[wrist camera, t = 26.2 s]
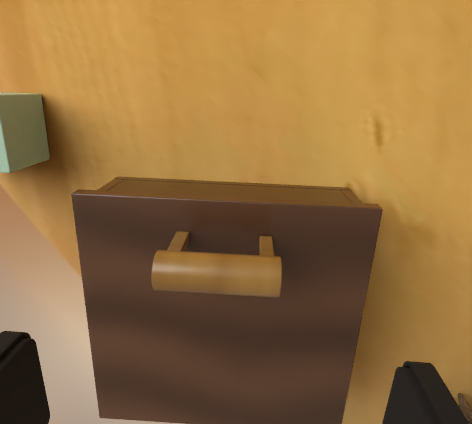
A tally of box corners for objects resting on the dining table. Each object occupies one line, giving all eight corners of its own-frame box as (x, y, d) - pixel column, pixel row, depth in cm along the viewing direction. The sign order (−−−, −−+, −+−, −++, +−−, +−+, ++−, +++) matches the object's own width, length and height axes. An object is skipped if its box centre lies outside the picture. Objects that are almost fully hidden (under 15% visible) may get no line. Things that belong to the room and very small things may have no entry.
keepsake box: (117, 176, 25) (80, 200, 20) (348, 187, 25) (375, 215, 19) (130, 350, 30) (104, 407, 25) (321, 362, 30) (337, 423, 24)
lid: (77, 188, 19) (15, 225, 14) (378, 203, 19) (424, 246, 14) (103, 408, 25) (65, 491, 20) (337, 423, 24) (359, 512, 19)
